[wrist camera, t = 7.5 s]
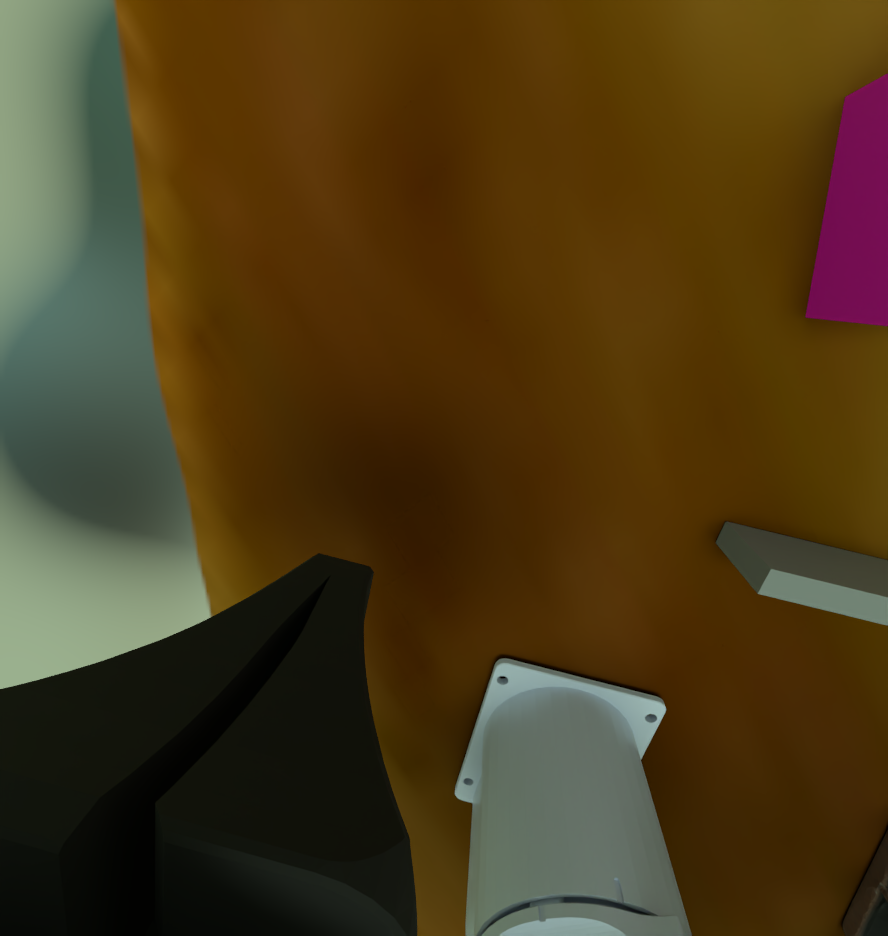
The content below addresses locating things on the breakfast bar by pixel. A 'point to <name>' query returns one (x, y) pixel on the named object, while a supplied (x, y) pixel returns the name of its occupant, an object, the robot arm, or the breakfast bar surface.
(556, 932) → the robot arm
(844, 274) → the toy block
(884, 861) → the letter holder
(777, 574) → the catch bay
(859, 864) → the breakfast bar surface
